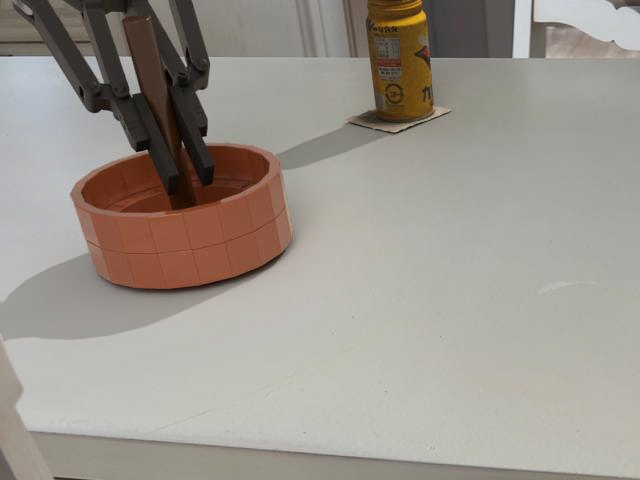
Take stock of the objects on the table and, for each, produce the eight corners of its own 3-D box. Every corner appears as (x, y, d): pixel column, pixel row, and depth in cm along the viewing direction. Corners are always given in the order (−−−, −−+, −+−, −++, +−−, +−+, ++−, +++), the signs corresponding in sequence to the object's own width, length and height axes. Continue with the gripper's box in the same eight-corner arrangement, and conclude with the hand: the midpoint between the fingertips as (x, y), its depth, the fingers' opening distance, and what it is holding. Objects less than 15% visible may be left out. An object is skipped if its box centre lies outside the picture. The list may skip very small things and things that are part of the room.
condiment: (452, 111, 105) (442, -20, 97) (395, 134, 100) (379, -2, 93) (402, 101, 109) (389, -26, 101) (344, 123, 104) (326, -9, 97)
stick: (149, 248, 78) (85, 28, 69) (176, 223, 82) (119, 10, 72) (209, 249, 78) (153, 26, 68) (233, 223, 81) (184, 8, 71)
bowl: (58, 293, 76) (30, 215, 73) (148, 213, 88) (128, 142, 84) (252, 299, 74) (234, 218, 70) (319, 215, 85) (306, 142, 81)
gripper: (159, -85, 81) (280, 182, 80) (-37, -55, 75) (90, 232, 75) (161, -164, 74) (293, 128, 73) (-55, -137, 68) (86, 178, 68)
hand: (190, 180), depth 74 cm, fingers closed on stick, 2 cm apart
